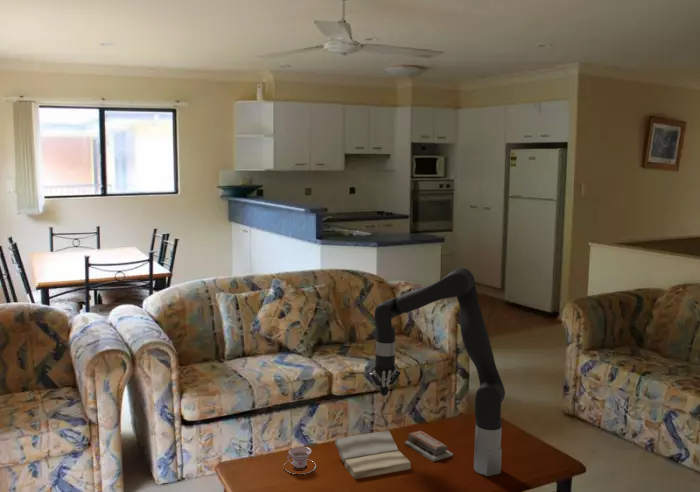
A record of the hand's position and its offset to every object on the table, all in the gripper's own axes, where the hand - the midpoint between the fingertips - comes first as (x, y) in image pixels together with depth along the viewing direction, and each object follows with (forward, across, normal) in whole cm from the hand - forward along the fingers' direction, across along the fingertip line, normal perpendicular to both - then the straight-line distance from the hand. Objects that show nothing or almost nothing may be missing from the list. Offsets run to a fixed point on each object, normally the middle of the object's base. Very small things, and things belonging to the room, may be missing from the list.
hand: (383, 395), depth 261 cm
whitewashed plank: (+18, -9, -5) cm, 21 cm away
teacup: (+21, -36, -7) cm, 42 cm away
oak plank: (+21, -9, -16) cm, 28 cm away
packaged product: (+21, +16, -9) cm, 28 cm away
